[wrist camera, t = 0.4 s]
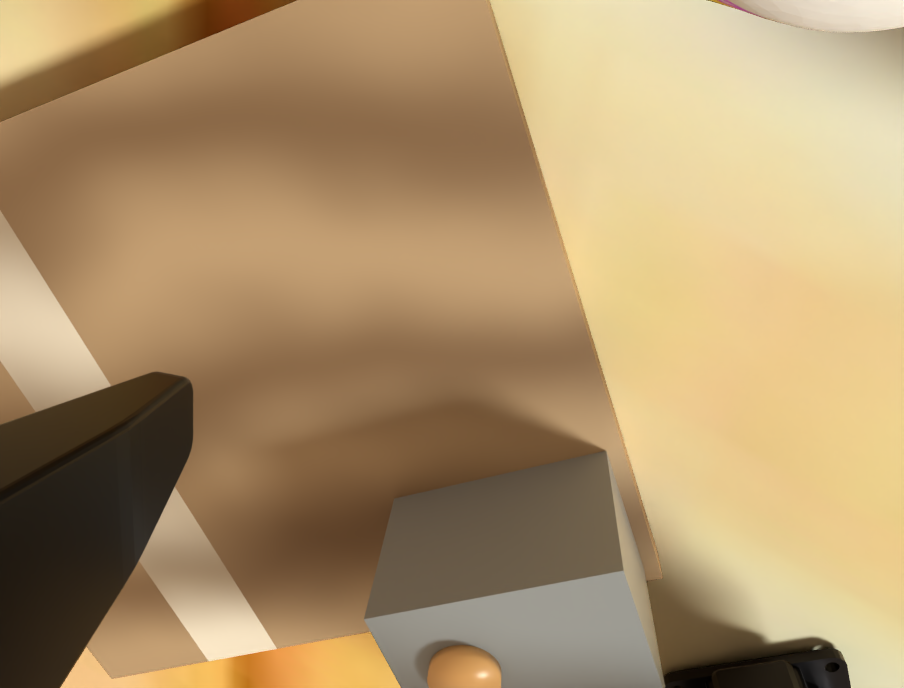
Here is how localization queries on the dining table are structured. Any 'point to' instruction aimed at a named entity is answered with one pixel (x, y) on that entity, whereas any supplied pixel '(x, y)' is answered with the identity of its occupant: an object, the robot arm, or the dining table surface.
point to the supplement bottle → (827, 13)
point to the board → (300, 304)
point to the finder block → (516, 584)
